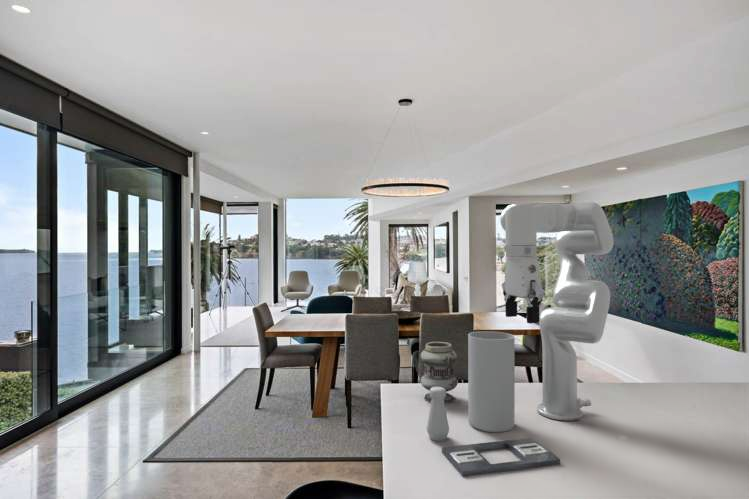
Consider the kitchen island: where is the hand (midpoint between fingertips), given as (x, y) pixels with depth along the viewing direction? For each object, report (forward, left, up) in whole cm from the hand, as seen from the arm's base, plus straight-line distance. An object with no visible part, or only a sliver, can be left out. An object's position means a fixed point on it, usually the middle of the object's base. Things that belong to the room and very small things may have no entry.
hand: (521, 319), depth 115 cm
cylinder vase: (+2, -12, -31) cm, 34 cm away
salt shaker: (+20, -7, -31) cm, 38 cm away
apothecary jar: (+8, -36, -31) cm, 48 cm away
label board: (+10, +7, -31) cm, 34 cm away
